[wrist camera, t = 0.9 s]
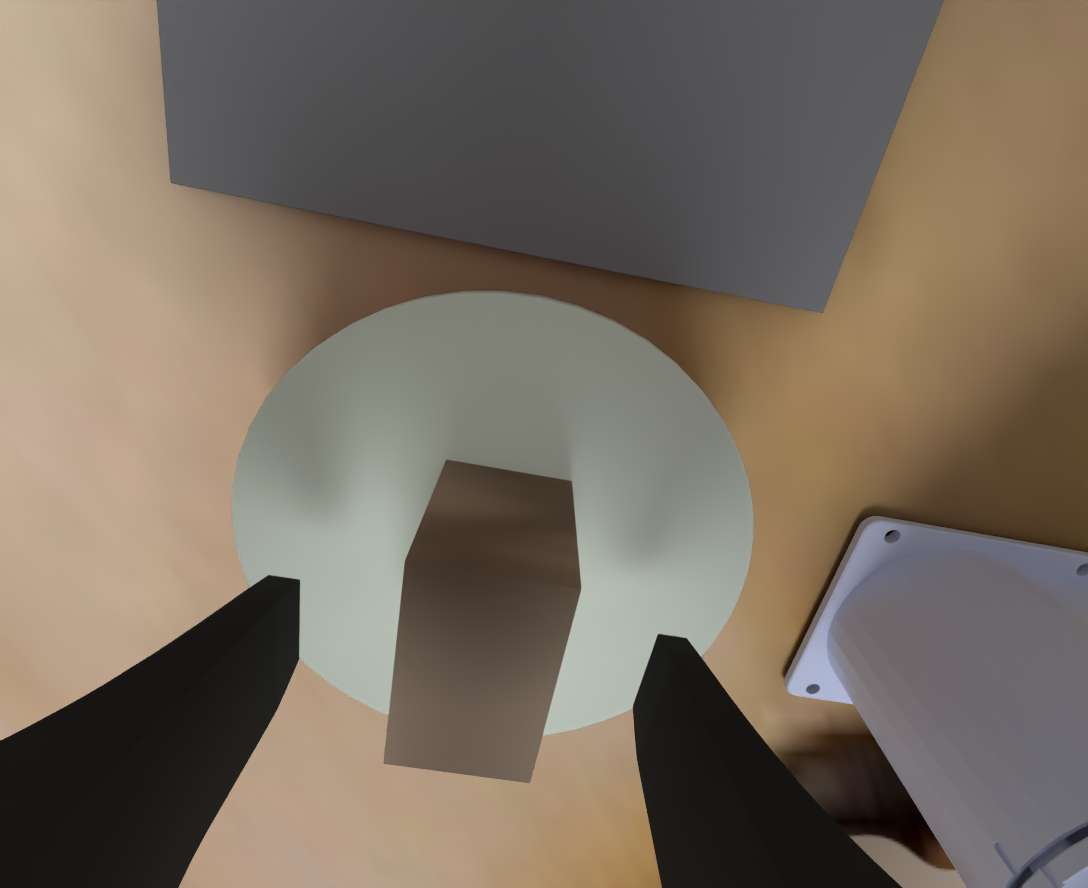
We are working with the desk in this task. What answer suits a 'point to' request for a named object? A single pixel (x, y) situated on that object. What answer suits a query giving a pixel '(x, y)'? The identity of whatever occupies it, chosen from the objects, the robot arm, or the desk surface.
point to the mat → (557, 124)
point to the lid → (492, 519)
